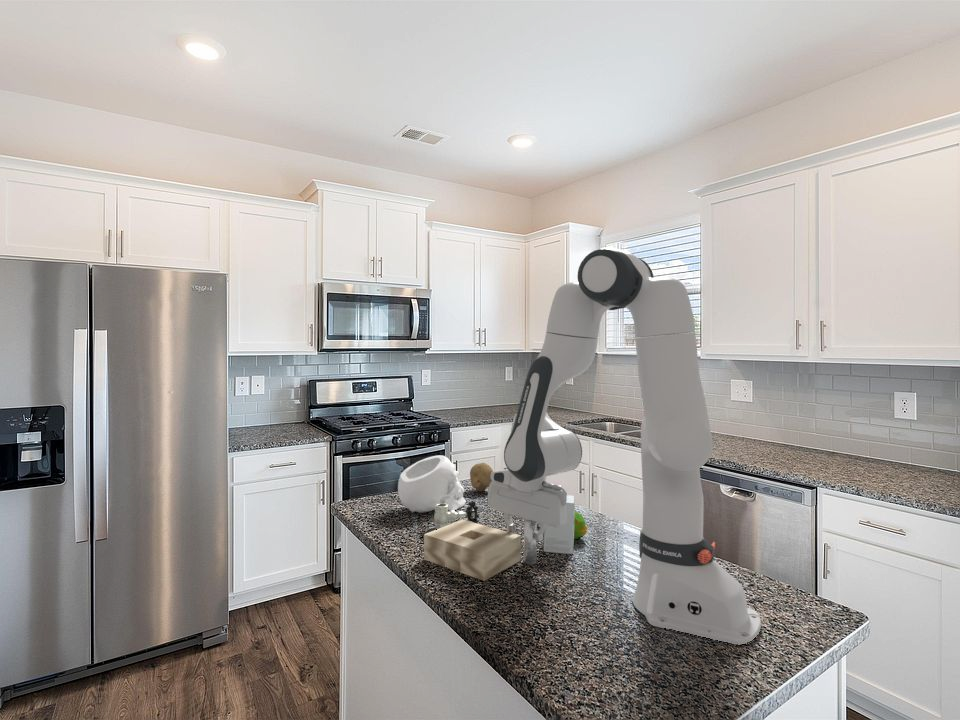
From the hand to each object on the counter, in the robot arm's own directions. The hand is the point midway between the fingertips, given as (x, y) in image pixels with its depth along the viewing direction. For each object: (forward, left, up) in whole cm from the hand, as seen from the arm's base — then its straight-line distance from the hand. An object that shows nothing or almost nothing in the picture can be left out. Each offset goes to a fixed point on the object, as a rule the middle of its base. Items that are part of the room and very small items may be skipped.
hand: (524, 535), depth 123 cm
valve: (+28, -7, -6) cm, 30 cm away
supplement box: (-2, -12, -6) cm, 14 cm away
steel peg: (-1, 0, -6) cm, 6 cm away
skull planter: (+43, -15, -6) cm, 46 cm away
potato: (+45, -41, -6) cm, 61 cm away
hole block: (+10, +8, -6) cm, 14 cm away
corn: (+3, -22, -6) cm, 23 cm away
